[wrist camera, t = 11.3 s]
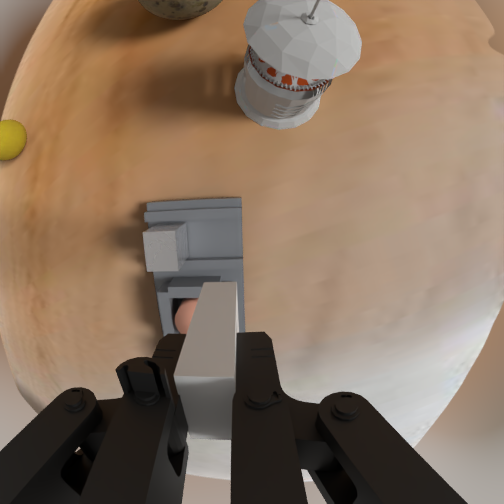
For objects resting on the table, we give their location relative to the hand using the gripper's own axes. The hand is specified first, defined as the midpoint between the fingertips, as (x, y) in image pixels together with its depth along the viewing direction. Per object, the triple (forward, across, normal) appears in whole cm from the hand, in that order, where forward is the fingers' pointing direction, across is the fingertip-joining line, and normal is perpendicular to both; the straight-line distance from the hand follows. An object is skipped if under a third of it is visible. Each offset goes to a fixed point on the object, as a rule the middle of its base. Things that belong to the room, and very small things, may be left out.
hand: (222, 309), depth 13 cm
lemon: (+19, +30, -15) cm, 38 cm away
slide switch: (+16, +6, 0) cm, 17 cm away
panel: (+18, +4, +8) cm, 20 cm away
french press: (+19, -6, -17) cm, 26 cm away
